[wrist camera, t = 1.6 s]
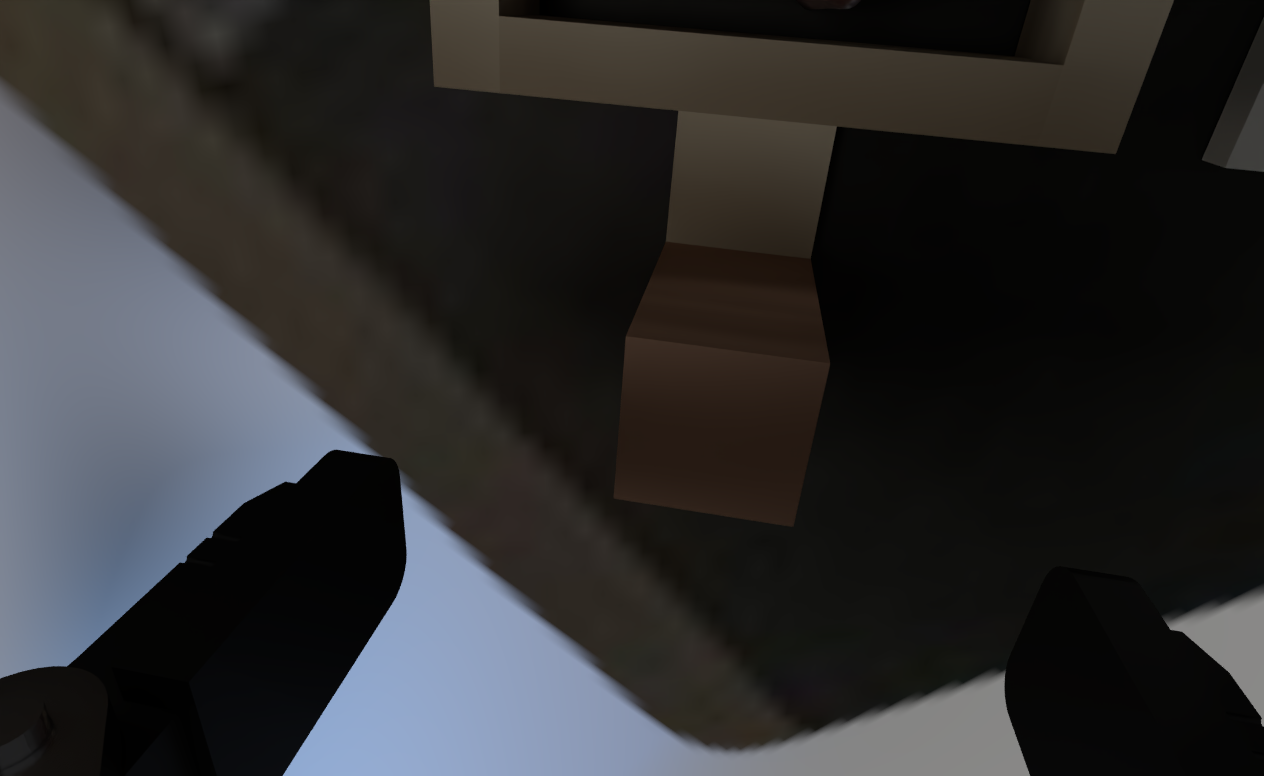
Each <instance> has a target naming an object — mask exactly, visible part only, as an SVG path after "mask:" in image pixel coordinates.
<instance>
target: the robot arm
mask: <svg viewBox="0 0 1264 776" xmlns="http://www.w3.org/2000/svg"><path fill="white" fill-rule="evenodd" d="M405 565H406V540H405V529H404V518H403V506H402V495H401V484H400V474H399V469H398V466H397V464H396V462H395V461H394V460H393V459H391V458H386V457H379V456H373V455H367V454H360V453H354V452H348V451H341V450H333V451H330V452H328V453H327V454H326V455H325V456H324V457H323V458H322V459H321V460H320V461H319V462H318V463H317V464H316V465H314V467H312V468H311V469H310V470H309V471H308V472H307V473H306V474H305V475H304V476H303V477H302V478H301V479H300V480H299V481H298V482H297V483H290V482H284V483H282V484H280V485H278V486H276V487H274V488H272V489H270V490H268V491H267V492H265V493H263V494H261V495H259V496H257V497H255V498H253V499H251V500H249V501H247V502H245V503H244V504H243V505H242V506H241V507H239V508H238V509H237V510H236V511H235V512H234V513H233V514H232V515H231V516H230V517H229V518H228V519H227V520H225V521H224V522H223V523H222V524H221V525H220V526H219V527H218V528H217V529H216V530H215V531H214V532H213V536H212V538H206V539H205V540H204V541H203V542H202V543H201V544H199V545H198V546H197V547H196V548H195V549H194V550H193V551H192V552H191V553H190V554H189V555H188V556H187V560H186V562H185V563H179V564H178V565H177V566H176V567H175V568H174V569H172V570H171V571H170V572H169V573H168V574H167V575H166V576H165V577H164V578H163V579H162V580H161V581H160V582H158V583H157V584H156V585H155V586H154V587H153V588H152V589H151V590H150V591H149V592H148V593H147V594H145V595H144V596H143V597H142V598H141V599H140V600H139V601H138V602H137V603H136V604H135V605H134V606H133V607H131V608H130V609H129V610H128V611H127V612H126V613H125V614H124V615H123V616H122V617H121V618H120V619H119V620H117V622H115V623H114V624H113V625H112V626H111V627H110V628H109V629H108V630H107V631H106V632H104V633H103V634H102V635H101V636H100V637H99V638H98V639H97V640H96V641H95V642H94V643H93V644H92V645H91V646H89V647H88V648H87V649H86V650H85V651H84V652H83V653H82V654H81V655H80V656H79V657H78V658H76V659H75V660H74V661H73V662H72V663H71V664H69V665H68V666H67V667H61V666H57V667H55V666H53V667H44V668H37V669H32V670H27V671H23V672H19V673H16V674H13V675H10V676H6V677H3V678H1V679H0V776H283V774H284V773H285V771H286V769H287V768H288V766H289V765H290V763H291V762H292V760H293V758H294V757H295V755H296V754H297V752H298V751H299V749H300V747H301V746H302V744H303V743H304V741H305V740H306V738H307V737H308V735H309V733H310V731H311V730H312V729H313V727H314V726H315V724H316V722H317V721H318V719H319V718H320V716H321V715H322V713H323V711H324V710H325V708H326V707H327V705H328V703H329V702H330V700H331V699H332V697H333V696H334V694H335V693H336V691H337V689H338V688H339V686H340V685H341V683H342V681H343V680H344V678H345V677H346V675H347V674H348V672H349V670H350V669H351V667H352V666H353V664H354V663H355V661H356V659H357V658H358V656H359V655H360V653H361V652H362V650H363V649H364V647H365V645H366V644H367V642H368V641H369V639H370V638H371V636H372V634H373V633H374V631H375V630H376V628H377V627H378V625H379V623H380V622H381V620H382V619H383V617H384V616H385V614H386V613H387V611H388V609H389V608H390V606H391V605H392V603H393V601H394V600H395V598H396V596H397V594H398V591H399V589H400V586H401V583H402V580H403V576H404V571H405ZM1005 699H1006V706H1007V710H1008V714H1009V717H1010V720H1011V723H1012V726H1013V729H1014V731H1015V734H1016V737H1017V740H1018V743H1019V745H1020V748H1021V751H1022V754H1023V757H1024V760H1025V762H1026V765H1027V768H1028V771H1029V774H1030V776H1264V727H1263V726H1262V724H1261V719H1262V718H1261V716H1260V715H1259V714H1258V712H1257V711H1256V709H1255V708H1254V707H1253V705H1252V704H1251V703H1250V701H1249V700H1248V698H1247V697H1246V695H1244V693H1243V691H1242V690H1241V689H1240V687H1239V686H1238V684H1237V683H1236V682H1235V680H1234V679H1233V677H1232V676H1231V675H1230V673H1229V672H1228V671H1226V670H1225V669H1224V668H1223V667H1222V666H1221V665H1220V664H1218V663H1217V662H1216V661H1215V660H1214V659H1213V658H1212V657H1210V656H1209V655H1208V654H1207V653H1206V652H1205V651H1204V650H1202V649H1201V648H1200V647H1199V646H1198V645H1197V644H1195V643H1194V642H1193V641H1192V640H1191V639H1190V638H1188V637H1187V636H1186V635H1185V634H1184V633H1183V632H1180V631H1174V630H1170V629H1169V627H1168V626H1167V624H1166V623H1165V621H1164V620H1163V618H1162V617H1161V615H1160V614H1159V612H1158V611H1157V609H1156V608H1155V606H1154V605H1153V603H1152V602H1151V600H1150V599H1149V597H1148V596H1147V594H1146V593H1145V591H1144V590H1143V588H1142V587H1141V586H1140V585H1139V584H1138V583H1137V582H1136V581H1135V580H1133V579H1131V578H1129V577H1124V576H1118V575H1111V574H1105V573H1099V572H1092V571H1086V570H1080V569H1074V568H1067V567H1061V566H1059V567H1055V568H1053V569H1052V570H1051V571H1050V572H1049V573H1048V574H1047V575H1046V577H1045V579H1044V581H1043V583H1042V585H1041V587H1040V589H1039V592H1038V594H1037V596H1036V598H1035V601H1034V603H1033V605H1032V607H1031V610H1030V612H1029V614H1028V616H1027V619H1026V621H1025V623H1024V625H1023V628H1022V630H1021V632H1020V634H1019V637H1018V639H1017V641H1016V643H1015V646H1014V648H1013V650H1012V652H1011V655H1010V657H1009V660H1008V663H1007V667H1006V673H1005Z"/></svg>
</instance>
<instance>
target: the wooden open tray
mask: <svg viewBox="0 0 1264 776" xmlns="http://www.w3.org/2000/svg"><path fill="white" fill-rule="evenodd" d="M1173 1H1174V0H1031V1H1030V5H1029V8H1028V12H1027V15H1026V18H1025V22H1024V25H1023V28H1022V32H1021V35H1020V39H1019V42H1018V45H1017V49H1016V52H1015V56H1007V55H995V54H984V53H972V52H961V51H949V50H938V49H926V48H914V47H903V46H891V45H880V44H868V43H857V42H845V41H833V40H822V39H810V38H799V37H787V36H776V35H764V34H753V33H741V32H729V31H718V30H706V29H695V28H683V27H672V26H660V25H649V24H637V23H625V22H614V21H602V20H591V19H579V18H568V17H556V16H545V15H540V0H430V14H431V33H432V52H433V70H434V87H444V88H454V89H464V90H475V91H485V92H495V93H505V94H515V95H525V96H535V97H545V98H555V99H565V100H576V101H586V102H596V103H606V104H616V105H626V106H636V107H646V108H656V109H666V110H676V111H679V112H678V123H677V133H676V143H675V153H674V164H673V174H672V184H671V194H670V205H669V215H668V225H667V235H666V243H665V245H664V247H663V250H662V252H661V254H660V257H659V259H658V262H657V264H656V266H655V269H654V271H653V273H652V276H651V278H650V280H649V283H648V285H647V288H646V290H645V292H644V295H643V297H642V299H641V302H640V304H639V307H638V309H637V311H636V314H635V316H634V318H633V321H632V323H631V325H630V328H629V330H628V333H627V335H626V343H625V356H624V369H623V382H622V396H621V409H620V422H619V435H618V449H617V462H616V475H615V488H614V498H615V499H621V500H627V501H633V502H640V503H646V504H652V505H659V506H665V507H671V508H678V509H684V510H690V511H697V512H703V513H709V514H715V515H722V516H728V517H734V518H741V519H747V520H753V521H760V522H766V523H772V524H778V525H785V526H791V527H793V525H794V521H795V517H796V512H797V508H798V503H799V499H800V495H801V490H802V486H803V481H804V477H805V473H806V468H807V464H808V459H809V455H810V451H811V446H812V442H813V437H814V433H815V429H816V424H817V420H818V415H819V411H820V407H821V402H822V398H823V393H824V389H825V385H826V380H827V376H828V371H829V367H830V359H829V354H828V349H827V343H826V338H825V333H824V327H823V322H822V317H821V311H820V306H819V301H818V295H817V290H816V285H815V279H814V274H813V269H812V263H811V255H812V250H813V244H814V239H815V234H816V229H817V224H818V219H819V214H820V209H821V204H822V199H823V194H824V189H825V184H826V179H827V174H828V169H829V163H830V158H831V153H832V148H833V143H834V138H835V133H836V128H837V126H838V127H848V128H858V129H868V130H878V131H889V132H899V133H909V134H919V135H929V136H939V137H949V138H959V139H969V140H979V141H989V142H1000V143H1010V144H1020V145H1030V146H1040V147H1050V148H1060V149H1070V150H1080V151H1090V152H1101V153H1111V154H1116V152H1117V149H1118V147H1119V144H1120V141H1121V139H1122V136H1123V133H1124V131H1125V128H1126V125H1127V123H1128V120H1129V118H1130V115H1131V112H1132V110H1133V107H1134V104H1135V102H1136V99H1137V96H1138V94H1139V91H1140V88H1141V86H1142V83H1143V81H1144V78H1145V75H1146V73H1147V70H1148V67H1149V65H1150V62H1151V59H1152V57H1153V54H1154V51H1155V49H1156V46H1157V44H1158V41H1159V38H1160V36H1161V33H1162V30H1163V28H1164V25H1165V22H1166V20H1167V17H1168V15H1169V12H1170V9H1171V7H1172V4H1173Z"/></svg>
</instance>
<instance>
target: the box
mask: <svg viewBox="0 0 1264 776" xmlns="http://www.w3.org/2000/svg"><path fill="white" fill-rule="evenodd" d="M796 1H797V2H798V3H799V4H800V5H801V6H802V7H804V8H805V9H808V10H814V9H816V10H818V9H829V8H830V9H849V8H852V7H855V6H856V5H857V4H858V3H859V2H860V1H861V0H796Z"/></svg>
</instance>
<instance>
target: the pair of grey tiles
mask: <svg viewBox="0 0 1264 776" xmlns="http://www.w3.org/2000/svg"><path fill="white" fill-rule="evenodd" d="M1202 160H1203V161H1206V162H1209V163H1212V164H1215V165H1218V166H1221V167H1224V168H1231V169H1241V170H1251V171H1261V172H1264V18H1263V20H1262V22H1261V24H1260V27H1259V29H1258V31H1257V34H1256V36H1255V38H1254V41H1253V43H1252V45H1251V47H1250V50H1249V52H1248V54H1247V57H1246V59H1245V61H1244V64H1243V66H1242V68H1241V70H1240V73H1239V75H1238V77H1237V80H1236V82H1235V84H1234V87H1233V89H1232V91H1231V93H1230V96H1229V98H1228V100H1227V103H1226V105H1225V107H1224V110H1223V112H1222V114H1221V116H1220V119H1219V121H1218V123H1217V126H1216V128H1215V130H1214V132H1213V135H1212V137H1211V139H1210V142H1209V144H1208V146H1207V149H1206V151H1205V153H1204V155H1203V158H1202Z"/></svg>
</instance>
